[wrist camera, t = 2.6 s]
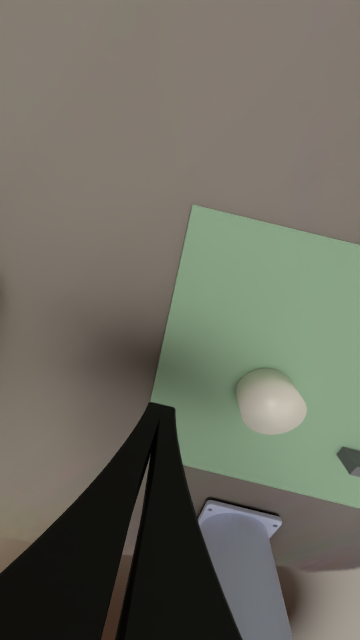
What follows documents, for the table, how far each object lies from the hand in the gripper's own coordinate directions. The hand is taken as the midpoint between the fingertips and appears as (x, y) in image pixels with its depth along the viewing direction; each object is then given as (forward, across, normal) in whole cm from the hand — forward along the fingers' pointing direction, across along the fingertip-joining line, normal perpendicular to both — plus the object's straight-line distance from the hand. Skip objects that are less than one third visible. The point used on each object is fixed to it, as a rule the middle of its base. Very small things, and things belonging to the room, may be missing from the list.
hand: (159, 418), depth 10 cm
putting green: (+5, -12, 0) cm, 13 cm away
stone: (+4, -7, 0) cm, 8 cm away
